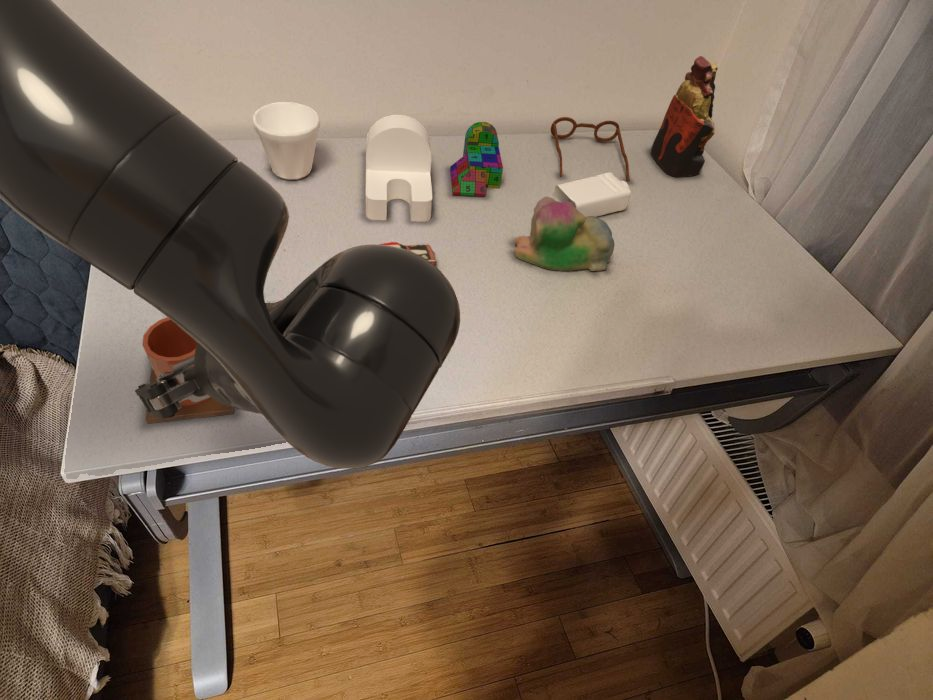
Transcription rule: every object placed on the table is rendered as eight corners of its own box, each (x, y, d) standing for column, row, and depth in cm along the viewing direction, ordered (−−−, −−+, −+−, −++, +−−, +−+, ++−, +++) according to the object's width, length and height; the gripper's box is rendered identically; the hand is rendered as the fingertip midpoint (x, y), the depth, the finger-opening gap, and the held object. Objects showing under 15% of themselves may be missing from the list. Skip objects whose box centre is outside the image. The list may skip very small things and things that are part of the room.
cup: (263, 152, 103) (255, 99, 96) (324, 154, 104) (320, 102, 97) (257, 187, 96) (248, 133, 89) (322, 189, 98) (318, 136, 91)
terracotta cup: (160, 409, 68) (139, 363, 61) (164, 364, 71) (145, 317, 65) (221, 402, 69) (207, 357, 63) (222, 359, 73) (209, 312, 67)
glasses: (613, 143, 118) (621, 119, 114) (629, 182, 110) (638, 158, 106) (547, 138, 117) (553, 113, 113) (558, 177, 108) (565, 152, 104)
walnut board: (147, 423, 67) (145, 419, 66) (154, 361, 73) (152, 356, 72) (233, 414, 69) (232, 410, 69) (234, 353, 75) (233, 349, 74)
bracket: (431, 222, 96) (436, 157, 87) (365, 219, 94) (365, 154, 86) (425, 154, 108) (429, 92, 99) (366, 151, 106) (366, 88, 98)
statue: (703, 178, 114) (754, 72, 99) (665, 179, 112) (711, 71, 97) (676, 143, 121) (719, 39, 106) (640, 143, 119) (678, 38, 104)
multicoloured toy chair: (448, 154, 109) (452, 119, 104) (493, 157, 110) (499, 122, 105) (452, 195, 101) (457, 159, 96) (500, 198, 102) (507, 162, 97)
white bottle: (632, 210, 104) (640, 189, 101) (571, 226, 99) (577, 204, 96) (609, 189, 108) (616, 168, 105) (549, 203, 103) (555, 181, 100)
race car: (353, 266, 89) (346, 242, 86) (433, 252, 91) (430, 228, 87) (356, 290, 86) (350, 266, 83) (439, 275, 88) (436, 251, 84)
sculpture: (593, 235, 98) (611, 182, 91) (614, 271, 93) (635, 218, 86) (507, 242, 95) (519, 187, 87) (524, 279, 90) (538, 225, 82)
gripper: (325, 269, 45) (263, 292, 59) (132, 359, 38) (111, 362, 51) (369, 358, 47) (299, 361, 60) (193, 461, 40) (158, 438, 53)
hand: (213, 361), depth 56 cm, fingers open, 8 cm apart
